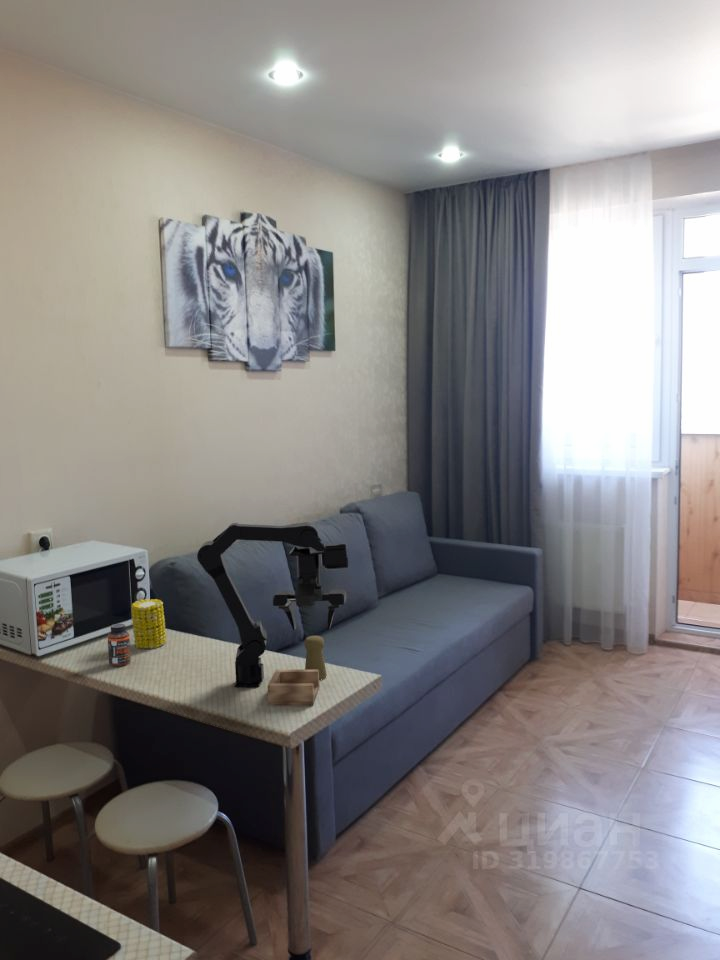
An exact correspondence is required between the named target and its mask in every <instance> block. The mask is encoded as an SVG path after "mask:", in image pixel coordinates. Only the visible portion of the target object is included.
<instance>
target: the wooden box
mask: <svg viewBox="0 0 720 960" xmlns="http://www.w3.org/2000/svg"><path fill="white" fill-rule="evenodd" d="M320 686H321V685H320V681H319V669H311V670H305V669H275V671H274V673H273V674H272V675H271V678H270V680H269V682H268V684H267V706H268V707H269V706H270V707H276V706H277V707H279V706H281V707H284V706H285V707H288V706H289V707H291V706H292V707H293V706H294V707H296V706H297V707H298V706H300V707H302V706H303V707H305V706H308V707H311V706H312V707H313V706H314V705H315V701H316V698H317V696H318V694H319V693H318V692H319V690H320ZM271 705H272V706H271Z"/></svg>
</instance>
